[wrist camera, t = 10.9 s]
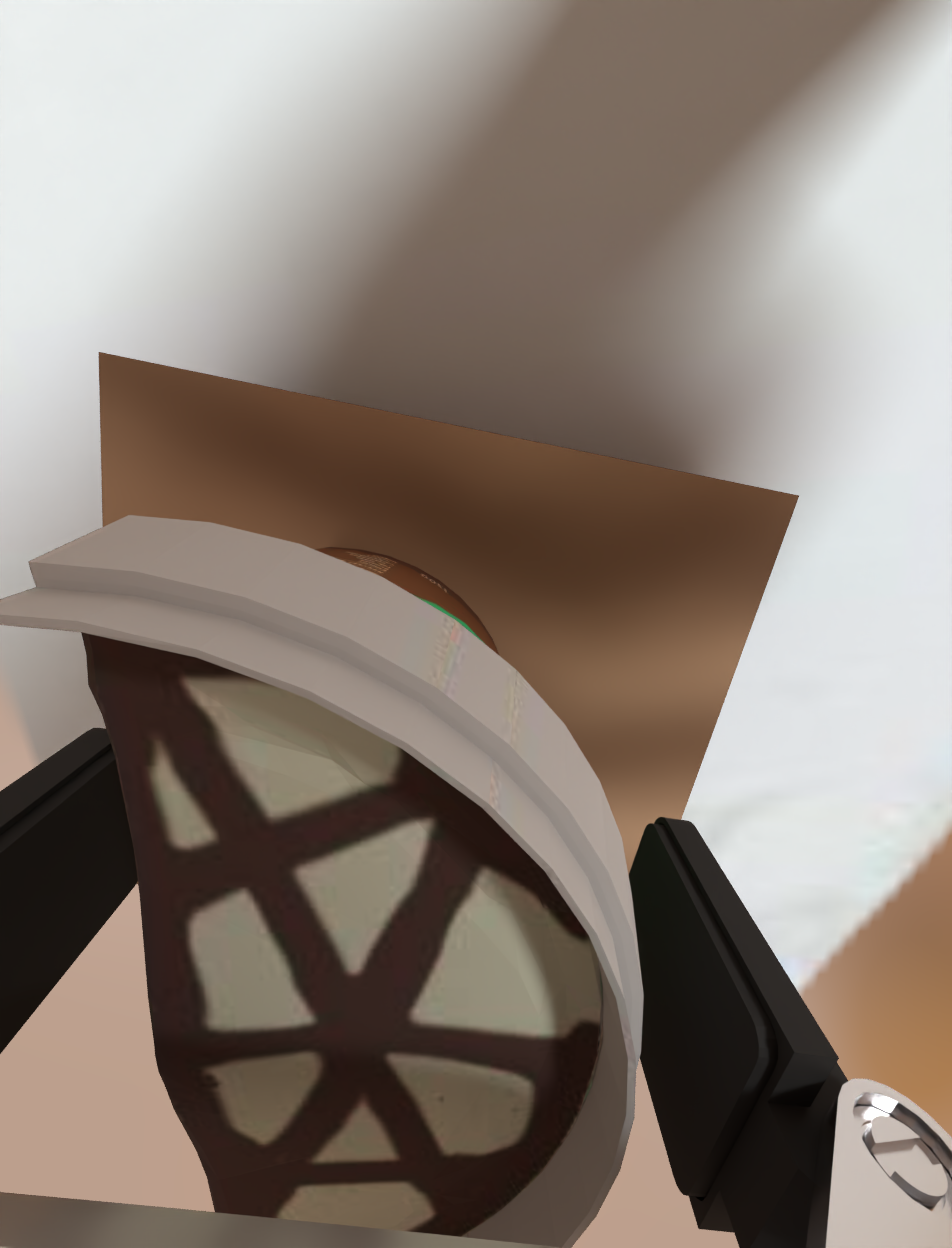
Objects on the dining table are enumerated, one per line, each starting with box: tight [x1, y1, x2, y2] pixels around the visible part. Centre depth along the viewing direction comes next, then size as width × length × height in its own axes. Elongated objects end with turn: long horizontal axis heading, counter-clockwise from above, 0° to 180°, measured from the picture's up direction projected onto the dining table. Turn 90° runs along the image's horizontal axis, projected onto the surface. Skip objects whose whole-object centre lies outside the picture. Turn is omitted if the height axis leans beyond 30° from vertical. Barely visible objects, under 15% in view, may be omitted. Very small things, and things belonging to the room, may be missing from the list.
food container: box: [0, 515, 644, 1248], centre depth 10 cm, size 12×6×10 cm, turn 179°
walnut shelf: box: [99, 352, 799, 884], centre depth 18 cm, size 16×18×6 cm
